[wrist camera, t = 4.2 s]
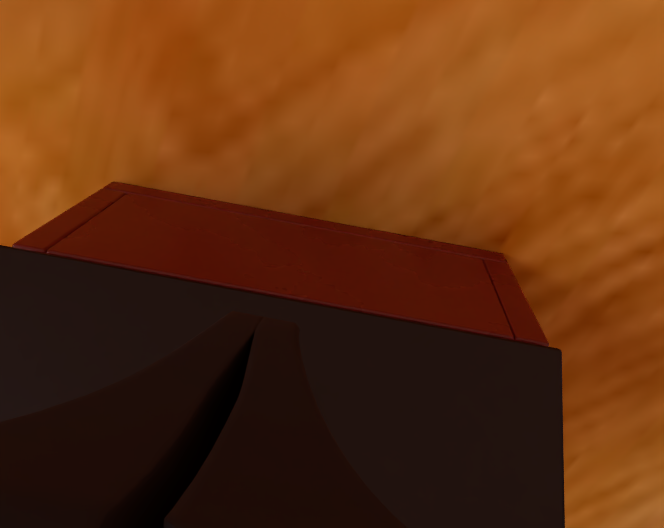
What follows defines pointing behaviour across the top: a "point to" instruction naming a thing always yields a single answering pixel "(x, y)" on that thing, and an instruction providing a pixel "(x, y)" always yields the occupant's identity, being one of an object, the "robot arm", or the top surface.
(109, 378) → the box lid
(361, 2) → the top surface
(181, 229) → the reddish-brown open box
